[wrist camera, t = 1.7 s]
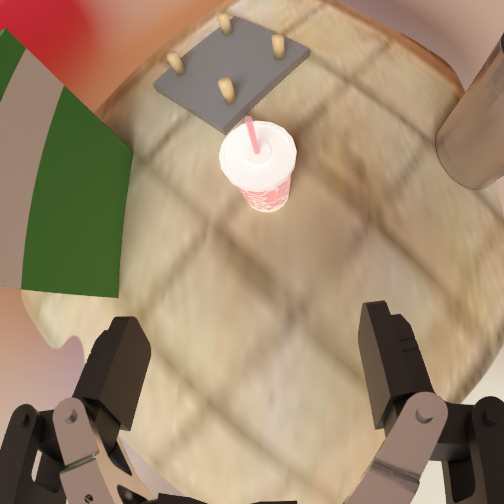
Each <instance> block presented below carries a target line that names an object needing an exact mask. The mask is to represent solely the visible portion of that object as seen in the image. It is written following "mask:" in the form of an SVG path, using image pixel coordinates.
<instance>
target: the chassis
mask: <svg viewBox="0 0 504 504" xmlns="http://www.w3.org/2000/svg"><path fill="white" fill-rule="evenodd" d="M218 19H219V23H220V26H221V27H219V28H218V29H217V30H215V31H214V32H213V33H212V34H210V35H209V36H208V37H206V38H205V39H204V40H203V41H201V42H200V43H199V44H198V45H196V46H195V47H194V48H193V49H192V50H190V51H189V52H188V53H187V54H186V55H184V56H183V57H182V58H181V59H180V57H179V55H178V53H177V52H176V51H172V52H170V53H169V54H168V55H167V59H168V61H169V63H170V64H171V66H172V67H171V68H169V69H168V70H167V71H166V72H165V73H164V74H163V75H162V76H161V77H160V78H159V79H157V80H156V81H155V82H154V83H153V84H152V85H153V86H154V88H155V89H156V91H158V92H160V93H161V94H163V95H164V96H166V97H168V98H169V99H171V100H172V101H174V102H176V103H177V104H179V105H180V106H182V107H183V108H185V109H187V110H188V111H190V112H191V113H193V114H194V115H196V116H197V117H199V118H200V119H202V120H203V121H205V122H206V123H208V124H209V125H211V126H212V127H214V128H215V129H217V130H218V131H220V132H221V133H223V134H224V135H226V134H227V133H228V132H229V131H230V130H231V129H232V128H233V127H234V126H235V125H236V124H237V123H238V122H239V121H240V120H241V119H242V118H243V117H244V116H245V115H246V114H247V113H248V112H249V111H250V110H251V109H252V108H253V107H254V106H255V105H256V104H257V103H258V102H259V101H260V100H261V99H262V98H263V97H264V96H266V95H267V94H268V93H269V92H270V91H271V90H272V89H273V88H274V87H275V86H276V85H277V84H278V83H280V82H281V81H282V80H283V79H284V78H285V77H286V76H287V75H288V74H289V73H291V72H292V71H293V70H294V69H295V68H296V67H297V66H298V65H300V64H301V63H302V62H303V61H304V60H305V59H307V58H308V57H309V48H307V47H305V46H302V45H300V44H298V43H296V42H294V41H292V40H290V39H288V38H286V37H284V36H283V35H281V34H277V33H275V32H272V31H270V30H268V29H265V28H263V27H261V26H258V25H256V24H253V23H251V22H248V21H246V20H243V19H240V18H238V17H235V16H234V17H233V18H232V19H229V15H228V13H226V12H223V13H220V14H219V15H218Z"/></svg>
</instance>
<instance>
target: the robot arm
mask: <svg viewBox="0 0 504 504" xmlns="http://www.w3.org/2000/svg"><path fill="white" fill-rule="evenodd" d="M436 150H437V154H438V157H439V160H440V161H441V163H442V165H443V167H444V168H445V170H446V171H447V173H448V174H449V175H450V176H451V177H452V178H453V179H454V180H455V181H457V182H458V183H459V184H461V185H463V186H465V187H467V188H470V189H483V188H486V187H487V186H489V185H490V184H492V183H493V182H494V181H496V180H497V179H499V178H500V177H502V176H503V175H504V33H503V35H502V37H501V38H500V40H499V42H498V43H497V45H496V46H495V48H494V50H493V51H492V53H491V54H490V56H489V57H488V59H487V61H486V62H485V64H484V65H483V67H482V69H481V70H480V72H479V73H478V75H477V76H476V78H475V79H474V81H473V82H472V84H471V85H470V87H469V88H468V89H467V91H466V92H465V94H464V95H463V97H462V98H461V100H460V101H459V103H458V104H457V105H456V107H455V108H454V110H453V111H452V112H451V114H450V115H449V117H448V118H447V119H446V121H445V122H444V123H443V125H442V126H441V128H440V129H439V131H438V133H437V136H436ZM358 343H359V350H360V354H361V359H362V363H363V368H364V373H365V378H366V383H367V388H368V393H369V398H370V404H371V409H372V415H373V420H374V426H375V430H376V429H381V428H384V430H385V436H386V438H385V440H384V442H383V443H382V445H381V447H380V449H379V450H378V452H377V454H376V455H375V457H374V458H373V460H372V462H371V463H370V465H369V466H368V468H367V469H366V471H365V472H364V474H363V476H362V477H361V479H360V480H359V481H358V483H357V484H356V486H355V487H354V489H353V490H352V491H351V493H350V494H349V495H348V497H347V498H346V500H345V501H344V502H343V504H410V503H411V501H412V499H413V497H414V496H415V494H416V492H417V490H418V487H419V484H420V482H419V479H420V477H421V474H422V472H423V471H424V469H425V466H426V465H427V463H428V461H429V460H432V461H441V462H442V469H443V476H444V485H445V494H446V504H504V402H503V401H501V400H500V399H498V398H497V397H493V396H488V397H484V398H482V399H480V400H479V401H478V402H477V403H476V404H475V405H464V404H452V403H448V402H446V401H444V400H443V399H442V398H441V397H440V396H438V395H437V394H436V393H435V392H434V390H433V388H432V385H431V382H430V379H429V376H428V373H427V370H426V367H425V364H424V361H423V358H422V355H421V352H420V350H419V347H418V344H417V341H416V340H415V336H414V333H413V331H412V328H411V325H410V324H409V323H408V322H407V320H406V319H405V318H404V317H403V316H402V315H401V314H396V315H391V314H390V311H389V309H388V306H387V303H386V302H385V301H375V302H367V303H363V305H362V311H361V318H360V325H359V331H358ZM150 358H151V346H150V343H149V341H148V339H147V337H146V335H145V333H144V332H143V330H142V328H141V326H140V324H139V322H138V320H137V319H136V318H135V317H115V318H114V319H113V320H112V322H111V325H110V327H109V329H108V330H104V332H103V333H102V334H101V335H100V336H99V337H98V338H97V339H96V341H95V343H94V345H93V348H92V350H91V354H90V355H89V357H88V359H87V363H86V364H85V366H84V369H83V371H82V374H81V376H80V379H79V381H78V384H77V386H76V389H75V391H74V394H73V396H72V398H67V399H64V400H63V401H61V402H60V403H59V404H58V405H57V407H56V408H55V409H54V410H48V411H41V412H38V411H37V410H36V409H35V408H34V407H33V406H31V405H29V404H23V405H21V406H19V407H18V408H17V409H15V411H14V412H13V414H12V416H11V419H10V422H9V425H8V428H7V431H6V434H5V437H4V440H3V443H2V446H1V449H0V504H66V499H67V500H68V502H69V504H207V503H204V502H201V501H199V500H196V499H193V498H190V497H182V496H175V495H168V494H162V493H159V494H158V499H154V497H153V495H152V494H151V492H150V491H149V489H148V488H147V487H146V486H145V485H144V484H143V482H141V480H140V479H139V478H138V476H137V474H136V472H135V470H134V468H133V466H132V464H131V462H130V460H129V458H128V455H127V453H126V451H125V449H124V447H123V445H122V442H121V440H120V438H119V437H118V433H119V430H126V431H130V430H131V426H132V423H133V419H134V415H135V411H136V407H137V404H138V400H139V396H140V393H141V389H142V386H143V382H144V379H145V375H146V372H147V368H148V365H149V361H150ZM37 450H39V451H40V452H42V456H41V460H40V463H39V467H38V472H37V476H36V480H35V482H34V481H33V480H32V476H31V473H32V469H33V465H34V461H35V457H36V454H37ZM252 504H297V501H275V502H257V503H252Z"/></svg>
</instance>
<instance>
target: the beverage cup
mask: <svg viewBox="0 0 504 504" xmlns="http://www.w3.org/2000/svg"><path fill="white" fill-rule="evenodd" d="M296 153H297V150H296V147H295V144H294V141H293V138H292V137H291V136H290V135H289V134H288V132H287V131H286V130H285V129H284V128H282V127H280V126H278V125H276V124H274V123H272V122H265V121H252V118H251V117H250V116H247V117H245V124H242V125H240V126H239V127H237V128H236V129H234V130H233V131H231V132H230V133H229V134H228V136H227V137H226V139H225V140H224V141H223V143H222V145H221V150H220V154H219V159H220V164H221V169H222V171H223V172H224V174H225V175H226V176H227V177H228V179H229V180H230V181H231V183H232V184H234V185H236V186H237V187H238V188H239V190H240V191H241V192H242V194H243V195H244V197H245V198H246V200H247V201H248V202H249V204H250V205H251V206H252V207H253V208H255V209H256V210H258V211H261V212H272V211H276V210H278V209H279V208H281V207H282V206H284V204H285V203H286V201H287V199H288V196H289V190H290V181H291V173H292V171H293V170H294V167H295V160H296Z"/></svg>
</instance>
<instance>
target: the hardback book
mask: <svg viewBox="0 0 504 504" xmlns="http://www.w3.org/2000/svg"><path fill="white" fill-rule="evenodd" d="M132 158H133V151H132V150H131V149H130V148H129V147H128V146H127V145H126V144H125V143H123V142H122V141H121V140H120V139H119V138H118V137H117V136H116V135H115V134H114V133H113V132H112V131H111V130H110V129H109V128H108V127H107V126H106V125H105V124H104V123H103V122H102V121H101V120H100V119H99V118H97V117H96V116H95V115H94V114H93V113H92V112H91V111H90V110H89V109H88V108H87V107H86V106H85V105H84V104H83V103H82V102H81V101H80V100H79V99H78V98H76V96H75V95H74V94H73V93H72V92H70V90H68V89H67V88H66V87H65V86H64V85H63V84H62V83H61V82H60V81H59V80H58V79H57V78H56V77H55V76H54V75H53V74H52V73H51V72H50V71H49V70H48V69H47V68H46V67H45V66H44V65H43V64H42V63H41V62H40V61H39V60H38V59H36V57H34V55H33V54H32V53H31V52H30V51H28V49H27V48H25V47H24V46H23V45H22V44H21V43H20V42H19V41H18V40H17V39H16V38H15V37H14V36H13V35H12V34H11V33H10V32H9V31H8V30H7V29H6V28H5V29H4V30H2V31H1V32H0V287H6V288H15V289H23V290H32V291H42V292H52V293H63V294H74V295H86V296H98V297H112V298H118V286H119V268H120V254H121V243H122V232H123V222H124V214H125V205H126V197H127V190H128V183H129V176H130V170H131V164H132Z"/></svg>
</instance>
